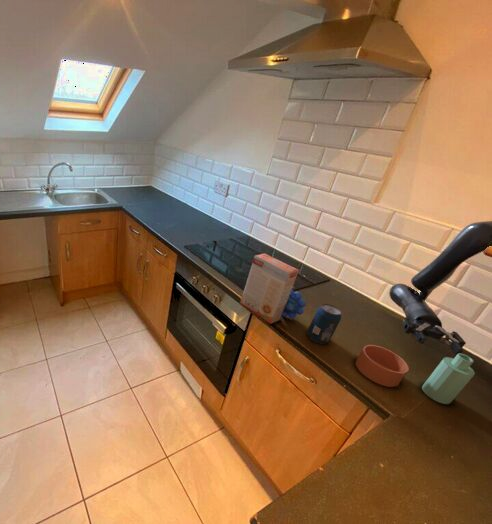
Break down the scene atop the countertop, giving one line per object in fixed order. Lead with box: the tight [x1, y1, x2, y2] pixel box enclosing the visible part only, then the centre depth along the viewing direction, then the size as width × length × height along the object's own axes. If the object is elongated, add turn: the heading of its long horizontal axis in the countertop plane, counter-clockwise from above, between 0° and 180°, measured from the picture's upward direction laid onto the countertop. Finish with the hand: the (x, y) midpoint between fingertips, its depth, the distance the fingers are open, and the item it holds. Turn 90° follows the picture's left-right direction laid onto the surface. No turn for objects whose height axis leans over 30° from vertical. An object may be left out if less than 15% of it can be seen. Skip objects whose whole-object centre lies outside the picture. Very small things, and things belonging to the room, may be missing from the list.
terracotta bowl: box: [355, 344, 410, 388], centre depth 88 cm, size 11×11×6 cm
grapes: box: [281, 288, 307, 319], centre depth 107 cm, size 12×7×12 cm, turn 76°
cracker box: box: [239, 253, 300, 325], centre depth 106 cm, size 14×6×21 cm, turn 32°
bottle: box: [421, 353, 476, 405], centre depth 81 cm, size 6×6×14 cm
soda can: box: [307, 303, 342, 345], centre depth 98 cm, size 7×7×12 cm
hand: (440, 346), depth 88 cm, fingers open, 8 cm apart
